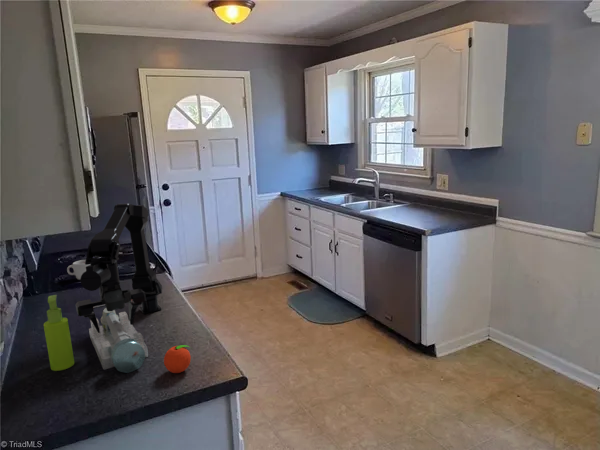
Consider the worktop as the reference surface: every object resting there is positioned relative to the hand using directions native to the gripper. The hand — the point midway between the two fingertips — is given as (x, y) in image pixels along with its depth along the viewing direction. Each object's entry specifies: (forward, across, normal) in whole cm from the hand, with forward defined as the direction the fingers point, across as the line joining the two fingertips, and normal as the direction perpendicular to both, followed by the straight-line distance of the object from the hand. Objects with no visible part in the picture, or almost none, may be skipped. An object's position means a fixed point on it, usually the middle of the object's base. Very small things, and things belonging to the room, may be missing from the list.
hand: (115, 328), depth 130 cm
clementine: (+6, +11, -26) cm, 29 cm away
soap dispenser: (+6, -15, -2) cm, 16 cm away
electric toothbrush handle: (+3, 0, 0) cm, 3 cm away
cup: (+6, 0, +85) cm, 85 cm away
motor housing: (+6, 0, -3) cm, 7 cm away
